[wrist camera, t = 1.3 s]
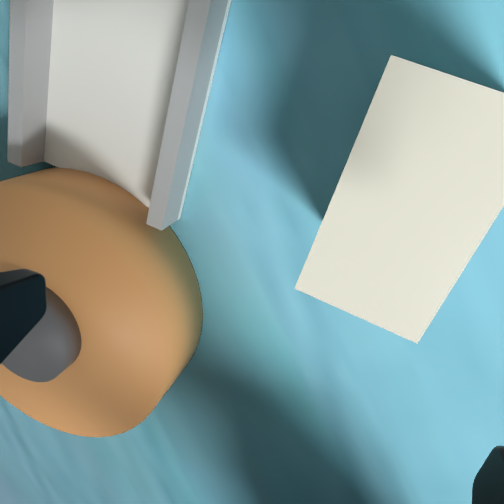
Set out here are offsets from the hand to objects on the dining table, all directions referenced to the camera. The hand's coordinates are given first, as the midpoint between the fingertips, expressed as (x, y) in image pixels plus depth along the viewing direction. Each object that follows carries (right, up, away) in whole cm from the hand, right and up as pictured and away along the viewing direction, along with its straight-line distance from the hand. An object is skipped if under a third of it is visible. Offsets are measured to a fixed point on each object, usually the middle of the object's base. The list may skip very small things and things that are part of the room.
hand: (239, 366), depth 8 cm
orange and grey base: (-7, +5, +14) cm, 17 cm away
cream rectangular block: (+6, +5, +9) cm, 12 cm away
